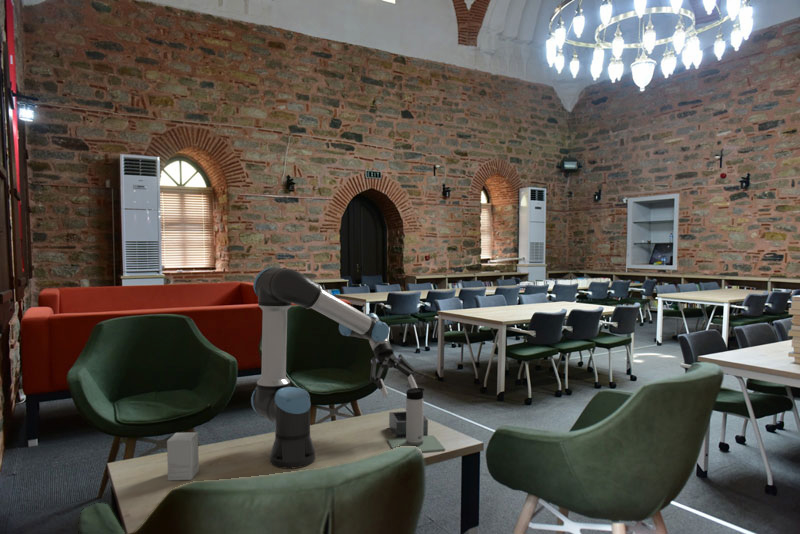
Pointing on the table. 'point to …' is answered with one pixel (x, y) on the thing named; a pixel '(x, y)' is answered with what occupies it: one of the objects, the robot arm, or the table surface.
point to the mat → (427, 446)
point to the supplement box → (182, 456)
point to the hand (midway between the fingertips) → (401, 393)
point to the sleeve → (403, 424)
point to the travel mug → (414, 416)
